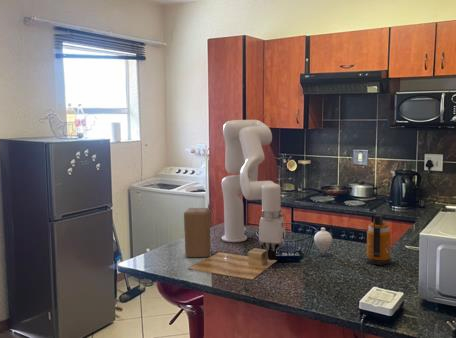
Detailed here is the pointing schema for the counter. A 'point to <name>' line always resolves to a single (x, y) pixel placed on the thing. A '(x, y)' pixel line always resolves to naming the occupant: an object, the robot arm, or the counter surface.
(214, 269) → the wooden board
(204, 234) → the block
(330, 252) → the counter surface
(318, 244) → the spinning top
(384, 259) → the amber tall bottle
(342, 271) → the counter surface
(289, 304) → the counter surface
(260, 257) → the oak cube
